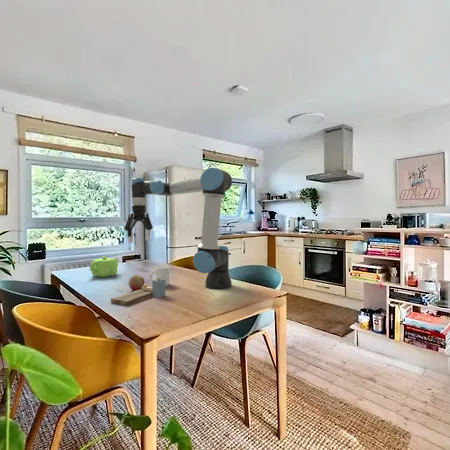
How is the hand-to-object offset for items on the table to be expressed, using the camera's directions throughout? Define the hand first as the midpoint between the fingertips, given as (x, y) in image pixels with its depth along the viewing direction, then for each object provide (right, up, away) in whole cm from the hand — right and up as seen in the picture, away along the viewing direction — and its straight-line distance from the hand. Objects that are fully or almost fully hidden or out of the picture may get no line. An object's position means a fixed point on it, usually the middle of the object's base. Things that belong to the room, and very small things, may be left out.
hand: (139, 241), depth 170 cm
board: (+6, -26, -28) cm, 39 cm away
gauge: (+13, -26, -22) cm, 37 cm away
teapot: (-29, -25, +25) cm, 46 cm away
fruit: (+2, -26, -12) cm, 29 cm away
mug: (+12, -26, -1) cm, 28 cm away
